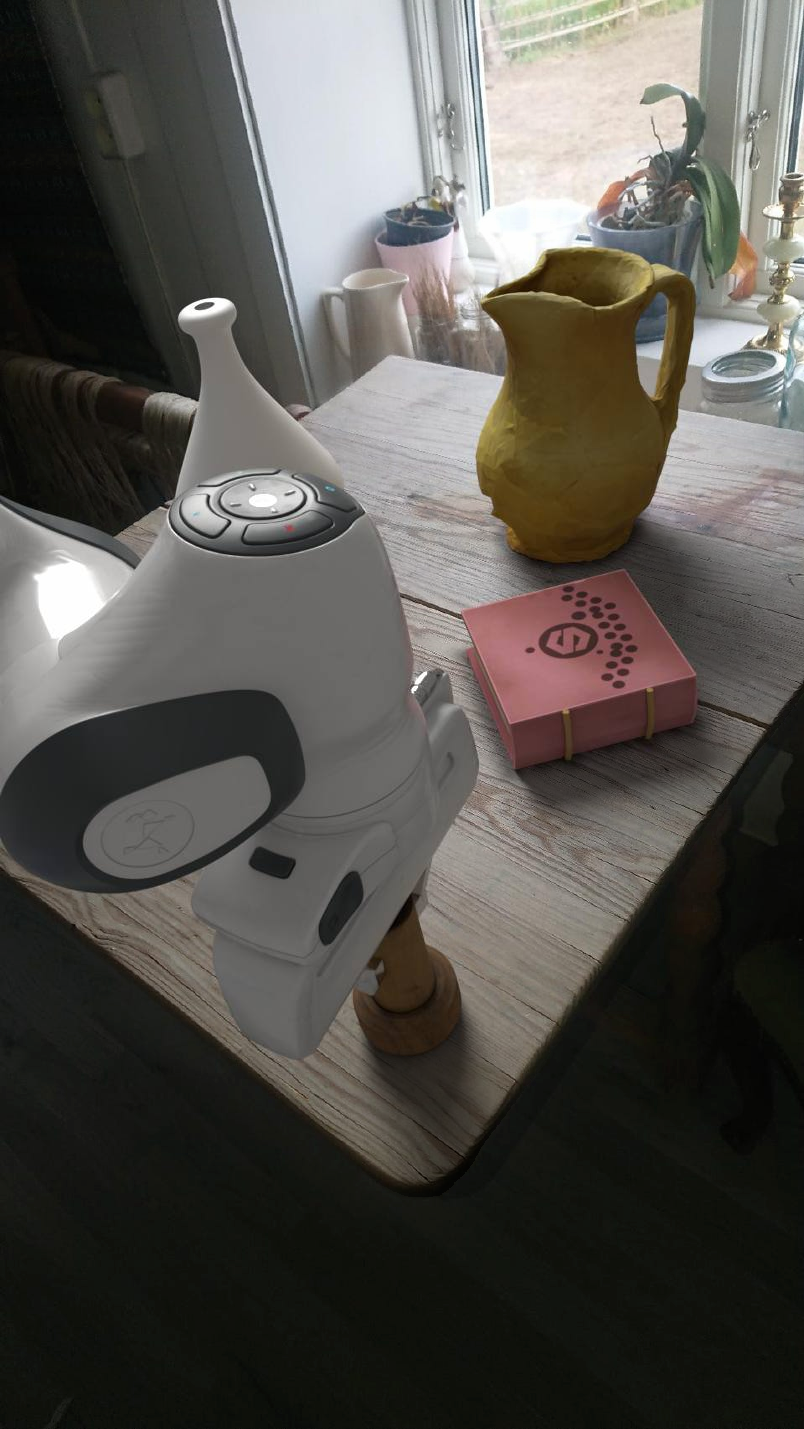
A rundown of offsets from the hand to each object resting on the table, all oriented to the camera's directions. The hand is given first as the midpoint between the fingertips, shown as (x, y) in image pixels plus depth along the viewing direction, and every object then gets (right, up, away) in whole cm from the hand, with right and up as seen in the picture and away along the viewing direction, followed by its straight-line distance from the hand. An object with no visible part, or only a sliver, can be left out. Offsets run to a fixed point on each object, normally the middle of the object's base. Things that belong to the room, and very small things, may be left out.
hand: (389, 945), depth 56 cm
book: (+15, +15, +24) cm, 32 cm away
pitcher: (+18, +32, +40) cm, 54 cm away
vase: (-13, +31, +47) cm, 58 cm away
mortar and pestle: (+1, -5, +5) cm, 7 cm away
